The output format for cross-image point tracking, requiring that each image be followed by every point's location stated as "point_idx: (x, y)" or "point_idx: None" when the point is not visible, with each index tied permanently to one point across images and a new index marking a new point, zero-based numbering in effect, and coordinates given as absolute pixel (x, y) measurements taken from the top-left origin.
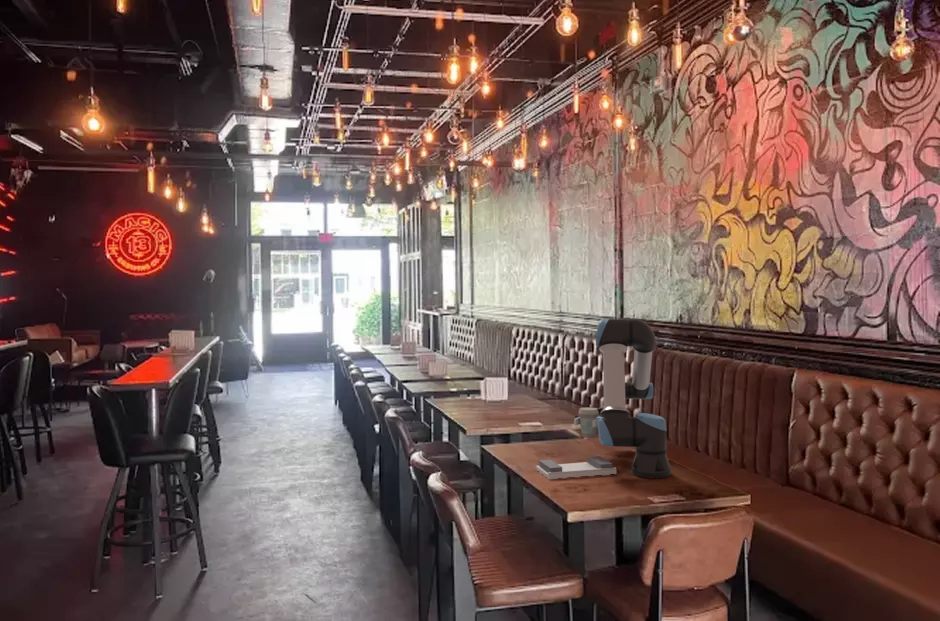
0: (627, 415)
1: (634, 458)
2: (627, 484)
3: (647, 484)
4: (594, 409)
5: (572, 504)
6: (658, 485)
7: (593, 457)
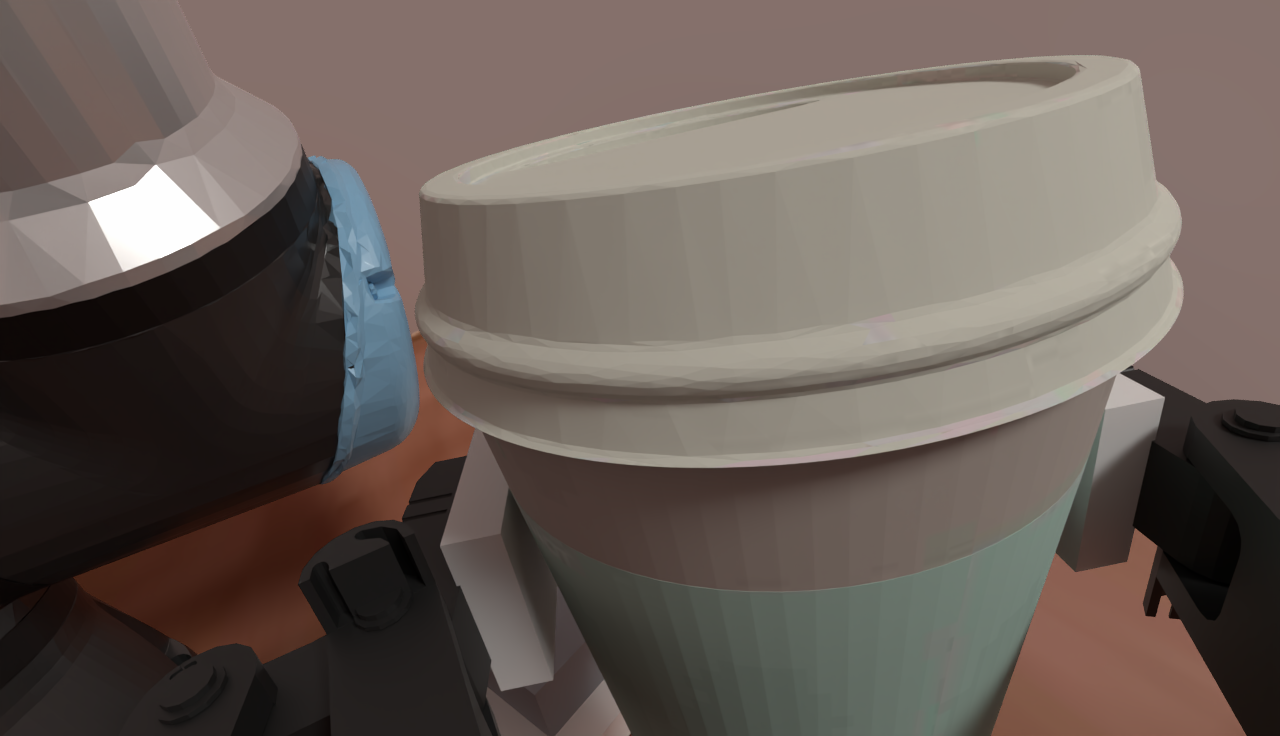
0: None
1: (129, 656)
2: (295, 516)
3: (173, 572)
4: (524, 180)
5: None
6: (106, 592)
7: (570, 619)
